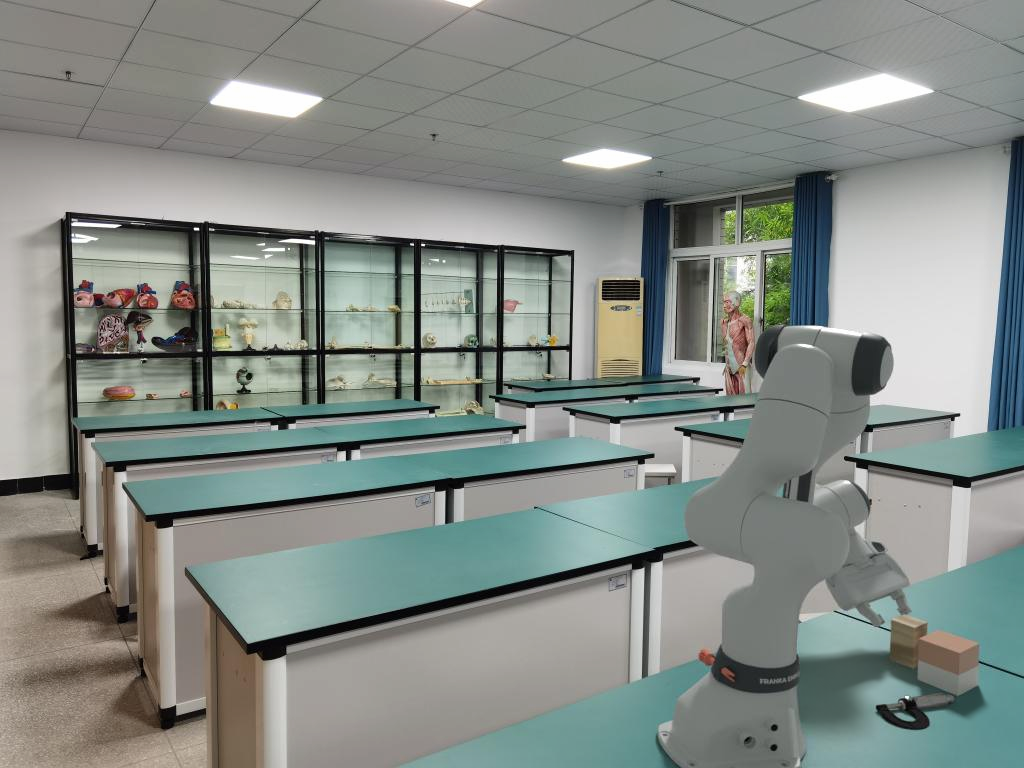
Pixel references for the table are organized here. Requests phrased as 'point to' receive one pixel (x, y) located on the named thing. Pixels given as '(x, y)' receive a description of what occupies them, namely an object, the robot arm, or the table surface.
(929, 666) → the off-white tower block
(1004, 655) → the table surface
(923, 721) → the micrometer
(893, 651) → the oak block
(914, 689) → the table surface
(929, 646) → the terracotta tower block
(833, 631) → the table surface
